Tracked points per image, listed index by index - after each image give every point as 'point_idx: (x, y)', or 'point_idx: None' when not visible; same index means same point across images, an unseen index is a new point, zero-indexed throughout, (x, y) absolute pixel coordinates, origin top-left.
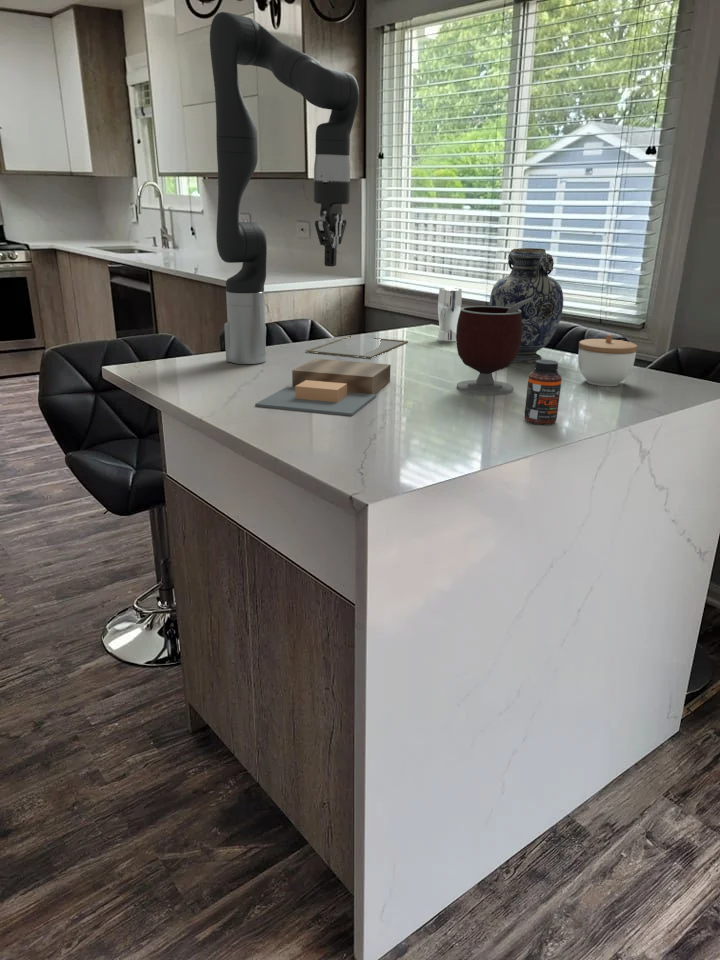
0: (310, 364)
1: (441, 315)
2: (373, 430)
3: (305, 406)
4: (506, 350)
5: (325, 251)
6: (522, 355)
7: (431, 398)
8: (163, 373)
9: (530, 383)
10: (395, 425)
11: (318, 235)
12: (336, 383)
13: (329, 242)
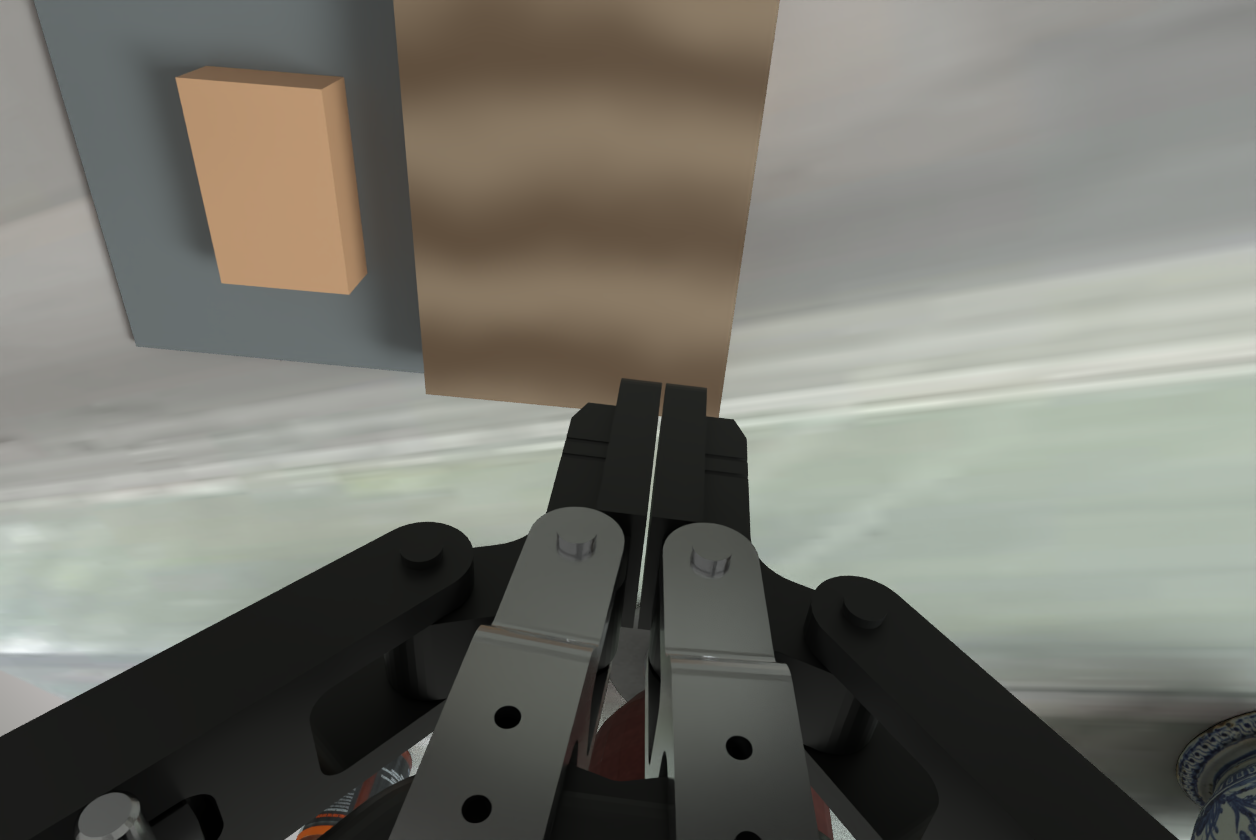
0: (589, 26)
1: None
2: (42, 429)
3: (113, 156)
4: None
5: (551, 500)
6: (1214, 781)
7: (501, 534)
8: None
9: (309, 825)
10: (130, 475)
11: (208, 636)
12: (328, 251)
13: (372, 672)
